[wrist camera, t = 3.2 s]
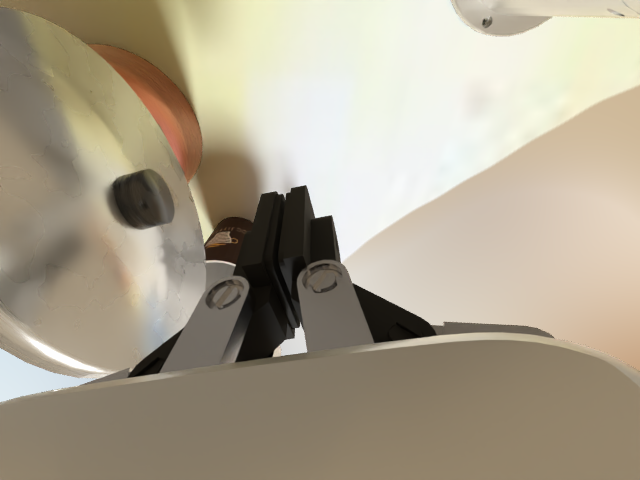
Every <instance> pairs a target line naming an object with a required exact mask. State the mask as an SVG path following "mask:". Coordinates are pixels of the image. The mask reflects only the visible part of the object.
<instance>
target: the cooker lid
mask: <svg viewBox="0 0 640 480" xmlns="http://www.w3.org/2000/svg"><path fill="white" fill-rule="evenodd" d="M184 174H185V173H184V171H183V169H182V167H181V165H180V163H179V161H178V159H177V158H176V156H175V154H174V152H173V150H172V148H171V146H170V144H169V142H168V140H167V138H166V136H165V134H164V133H163V131H162V129H161V127H160V125H159V124H157V122H156V121H155V119H154V118H153V116H152V115H151V113H150V112H149V110H148V109H147V108H146V106H145V105H144V104H143V102H142V101H141V100H140V98H139V97H138V96H137V94H136V93H135V92H134V91H133V90H132V88H131V87H130V86H129V85H128V84H127V82H126V81H125V80H124V79H123V78H122V77H121V76H120V75H119V74H118V73H117V72H116V71H115V69H114V68H113V67H112V66H111V65H110V64H109V63H107V62H106V61H105V60H104V59H103V58H102V57H101V56H100V55H99V54H98V53H97V52H95V51H94V50H93V49H92V48H90V47H89V46H88V45H87V44H85V43H84V42H83V41H81V40H80V39H79V38H77V37H76V36H74V35H73V34H71V33H70V32H68V31H67V30H65V29H63V28H62V27H60V26H58V25H56V24H54V23H52V22H50V21H48V20H46V19H44V18H42V17H39V16H36V15H33V14H31V13H28V12H25V11H21V10H16V9H10V8H4V7H0V348H1V349H3V350H5V351H7V352H9V353H11V354H12V355H14V356H16V357H18V358H19V359H21V360H23V361H25V362H27V363H29V364H32V365H35V366H37V367H40V368H43V369H45V370H48V371H50V372H54V373H58V374H63V375H68V376H72V377H77V378H102V377H105V376H107V375H110V374H113V373H116V372H119V371H121V370H124V369H127V368H131V369H134V367H135V366H136V365H137V364H138V363H139V362H141V361H142V360H143V359H144V358H145V357H146V356H148V355H149V354H150V353H152V352H153V351H154V350H155V349H157V348H158V347H159V346H161V345H162V344H163V343H165V342H166V341H167V340H168V339H170V338H171V337H172V336H174V335H175V334H176V333H177V332H179V331H180V330H181V329H183V328H184V327H185V326H186V324H187V322H188V320H189V318H190V316H191V315H192V313H193V311H194V309H195V307H196V306H197V304H198V302H199V300H200V298H201V297H202V295H203V293H204V292H205V286H206V259H205V249H204V241H203V235H202V230H201V226H200V221H199V217H198V213H197V210H196V206H195V203H194V200H193V197H192V194H191V191H190V188H189V186H188V183H187V180H186V178H185V176H184Z"/></svg>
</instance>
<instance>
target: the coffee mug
mask: <svg viewBox="0 0 640 480" xmlns="http://www.w3.org/2000/svg"><path fill="white" fill-rule="evenodd" d="M252 227H253V223H252V222H251V221H249V220H247V219H244V218H240V217H231V218H227V219H224V220H223V221H221V222H220V223H219V224H218V225H217V227H216V228H215V230H214V231H213V233H212V234H211V235H210V237H209V238H208V240H207V241H206V243H205V244H204V249H205V259H206V286H205V291H206V289H207V288H208V287H210V286H211V285H212V284H213V283H215V282H216V281H218V280H220V279H222V278H225V277H229V276H233V272H234V269H235V266H236V262H237V259H238V256H239V252H240V249H241V246H242V242H243V239H244V235H245V233H246V232H247V231H251V230H252Z"/></svg>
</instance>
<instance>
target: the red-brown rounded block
mask: <svg viewBox="0 0 640 480" xmlns="http://www.w3.org/2000/svg"><path fill="white" fill-rule="evenodd" d="M87 45H88V46H89V47H90V48H92V49H93V50H94V51H95V52H97V53H98V54H99V55H100V56H101V57H102V58H103V59H104V60H105V61H106V62H107V63H109V64H110V65H111V66H112V67H113V68H114V69H115V71H116V72H117V73H118V74H119V75H120V76H121V77H122V78H123V79H124V80H125V81H126V82H127V84H128V85H129V86H130V87H131V88H132V90H133V91H134V92H135V93H136V94H137V96H138V97H139V98H140V100H141V101H142V102H143V104H144V105H145V106H146V108H147V109H148V110H149V112H150V113H151V115H152V116H153V118H154V119H155V121H156V122H157V124H159V125H160V127H161V129H162V131H163V133H164V134H165V136H166V138H167V140H168V142H169V144H170V146H171V148H172V150H173V152H174V154H175V156H176V158H177V159H178V161H179V163H180V165H181V167H182V169H183V171H184V173H185V174H184V176H185V178H186V180H187V183H189V182H190V180H191V179H192V178H193V176H194V175H195V173H196V171H197V169H198V167H199V164H200V161H201V156H202V137H201V132H200V128H199V124H198V121H197V119H196V116H195V114H194V112H193V110H192V108H191V106H190V104H189V103H188V101H187V100H186V98H185V97H184V95H183V94H182V93H181V91H180V90H179V89H178V88H177V86H176V85H175V84H174V83H173V82H172V81H171V80H170V79H169V78H168V77H167V76H166V75H165V74H164V73H162V72H161V71H160V70H159V69H158V68H156V67H155V66H154V65H152V64H151V63H149V62H148V61H146V60H145V59H143V58H141V57H139V56H137V55H135V54H133V53H131V52H128V51H126V50H123V49H120V48H117V47H113V46H108V45H101V44H87Z"/></svg>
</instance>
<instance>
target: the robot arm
mask: <svg viewBox="0 0 640 480" xmlns="http://www.w3.org/2000/svg"><path fill="white" fill-rule="evenodd" d="M451 2H452V5H453V7H454V9H455V11H456V13H457V14H458V16H459V17H460V18H461V19H462V21H463V22H464V23H465V24H466V25H468V26H469V27H470V28H472V29H473V30H474V31H477V32H479V33H482V34H485V35H490V36H496V37H497V36H513V35H517V34H521V33H524V32H527V31H529V30H531V29H534V28H536V27H538V26H539V25H541V24H543V23H544V22H546V21H547V20H549V19H550V18H552V17H600V18H640V0H451ZM484 19H485V23H484V25H482V22H483V20H484ZM300 322H301V325H302V327H303V330H304V332H305V339H306V346H307V353H300V354H293V355H285V356H281V347H280V344H281V343H282V342H283V341H284V340H286V339H292V338H294V336H295V328H299V327H300ZM0 480H640V371H638V370H637V369H635V368H634V367H632V366H630V365H629V364H627V363H625V362H624V361H622V360H620V359H618V358H616V357H614V356H612V355H609V354H607V353H605V352H602V351H600V350H597V349H594V348H590V347H587V346H584V345H581V344H577V343H573V342H569V341H565V340H560V339H555V338H554V337H553V336H552V335H550V334H549V333H547V332H545V331H542V330H540V329H538V328H533V327H528V326H518V325H498V324H478V323H477V324H476V323H458V322H443V326H436V325H430V324H429V323H428V322H427V321H425V320H424V319H422V318H421V317H418V316H417V315H415V314H413V313H410V312H409V311H406V310H405V309H403V308H401V307H399V306H397V305H395V304H393V303H391V302H389V301H387V300H385V299H383V298H381V297H379V296H377V295H375V294H373V293H371V292H369V291H367V290H365V289H363V288H361V287H359V286H357V285H355V284H353V283H352V281H351V279H350V276H349V273H348V271H347V269H346V268H345V266H344V265H343V264H341V261H340V253H339V247H338V241H337V236H336V231H335V226H334V222H333V218H332V215H331V216H325V217H320V218H315V216H314V212H313V208H312V204H311V200H310V197H309V193H308V189H307V186H306V185H305V186H300V187H295V188H291V192H290V193H286V200H285V198H284V195H283V194H280V195H278V193H277V192H276V191H275V192H270V193H265V194H262V195H261V197H260V201H259V205H258V208H257V212H256V216H255V219H254V223H253V227H252V230H251V231H247V232H246V233H245V235H244V239H243V242H242V246H241V249H240V252H239V256H238V259H237V262H236V266H235V269H234V272H233V276H229V277H225V278H222V279H220V280H218V281H216V282H215V283H213V284H212V285H211V286H210V287H208V288H207V289H206V291H205V292H204V293H203V295H202V297H201V298H200V300H199V302H198V304H197V306H196V307H195V309H194V311H193V313H192V315H191V316H190V318H189V320H188V322H187V324H186V326H185V327H184V328H183V329H181V330H180V331H179V332H177V333H176V334H175V335H174V336H172V337H171V338H170V339H168V340H167V341H166V342H165V343H163V344H162V345H161V346H159V347H158V348H157V349H155V350H154V351H153V352H152V353H150V354H149V355H148V356H146V357H145V358H144V359H143V360H142V361H141V362H139V363H138V364H137V365H136V366H135V367H134V369H131V368H127V369H124V370H121V371H119V372H116V373H113V374H110V375H107V376H105V377H102V378H99V379H96V380H93V381H91V382H88V383H85V384H82V385H79V386H75V387H69V388H62V389H57V390H51V391H46V392H41V393H36V394H32V395H27V396H22V397H18V398H14V399H11V400H7V401H3V402H0Z"/></svg>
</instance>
